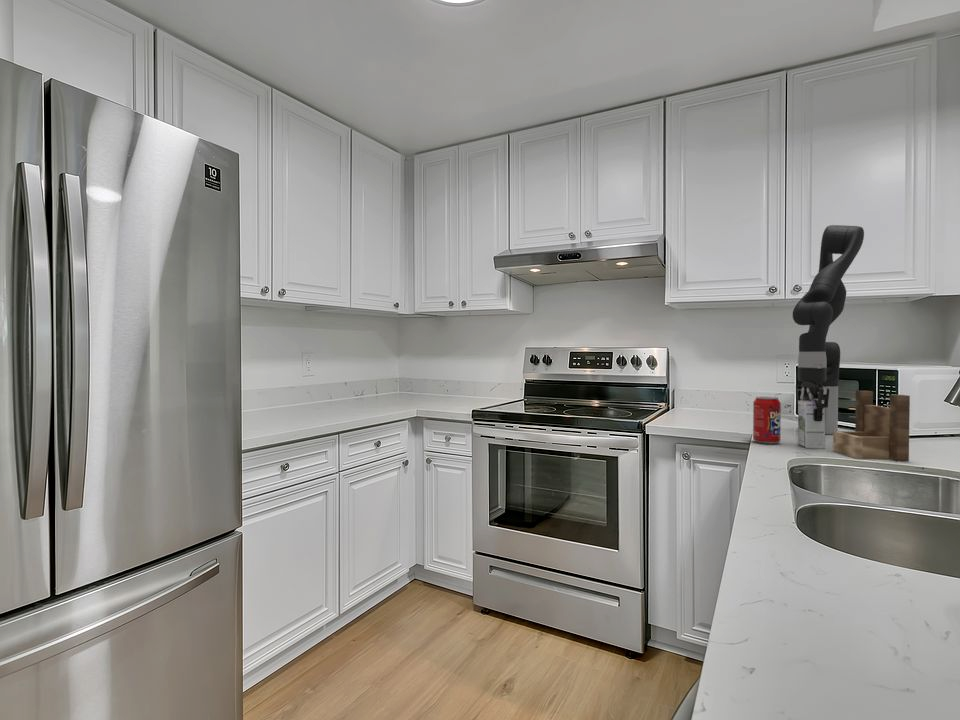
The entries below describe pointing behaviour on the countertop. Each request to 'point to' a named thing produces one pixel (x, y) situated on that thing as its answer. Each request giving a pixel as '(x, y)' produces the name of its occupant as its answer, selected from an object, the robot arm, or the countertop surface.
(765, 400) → the soda can
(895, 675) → the countertop surface
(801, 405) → the syrup box
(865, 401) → the wooden stand
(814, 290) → the robot arm
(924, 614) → the countertop surface
